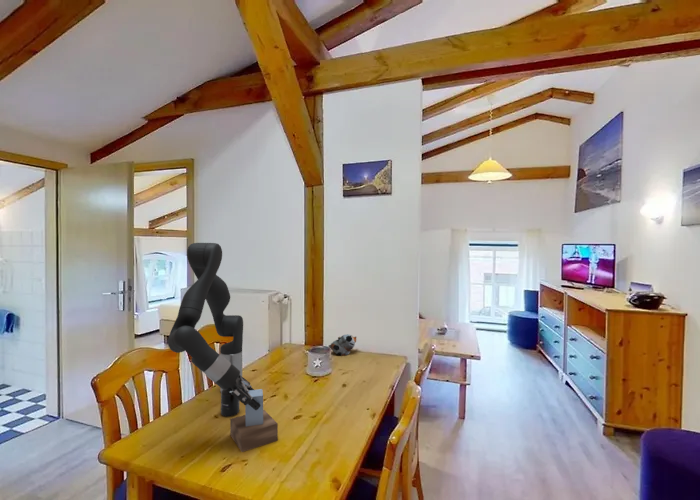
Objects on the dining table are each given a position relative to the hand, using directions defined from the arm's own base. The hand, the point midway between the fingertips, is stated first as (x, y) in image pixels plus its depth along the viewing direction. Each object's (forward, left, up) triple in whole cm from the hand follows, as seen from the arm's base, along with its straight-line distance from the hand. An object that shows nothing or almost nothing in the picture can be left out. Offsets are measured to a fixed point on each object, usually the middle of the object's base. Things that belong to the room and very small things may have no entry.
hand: (258, 402), depth 122 cm
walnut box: (0, -1, -12) cm, 12 cm away
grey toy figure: (-82, +53, -12) cm, 98 cm away
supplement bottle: (-21, -9, -12) cm, 26 cm away
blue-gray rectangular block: (0, -1, -6) cm, 6 cm away
